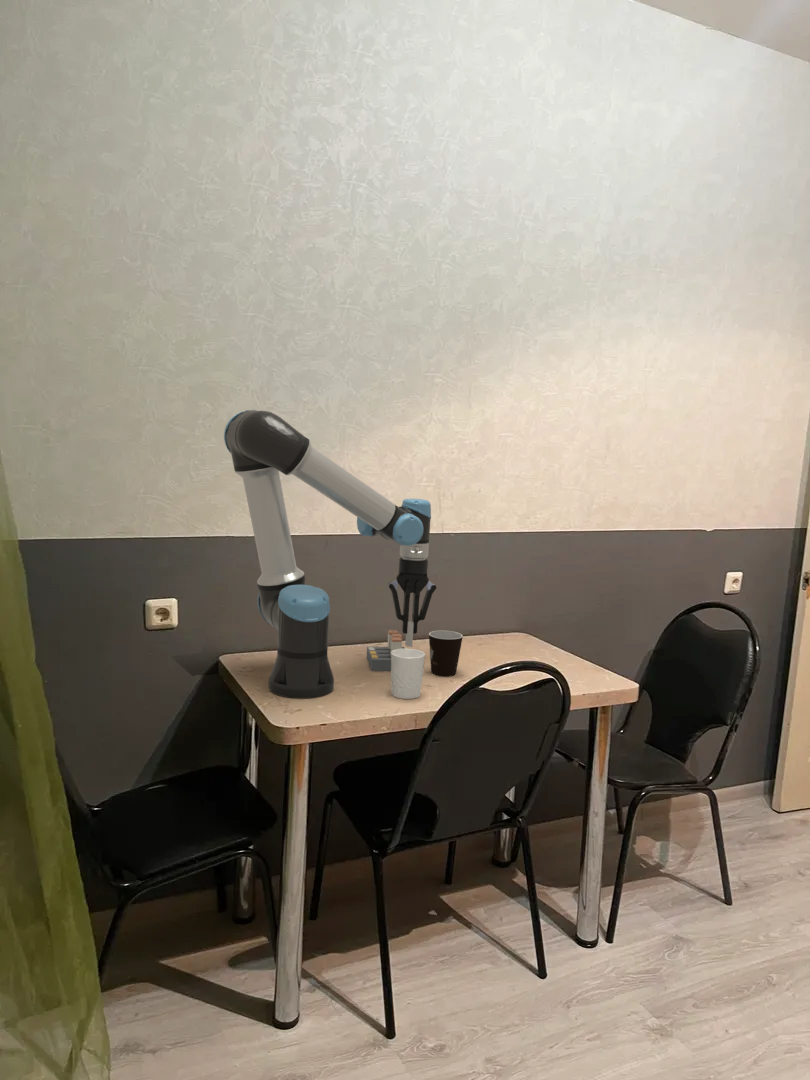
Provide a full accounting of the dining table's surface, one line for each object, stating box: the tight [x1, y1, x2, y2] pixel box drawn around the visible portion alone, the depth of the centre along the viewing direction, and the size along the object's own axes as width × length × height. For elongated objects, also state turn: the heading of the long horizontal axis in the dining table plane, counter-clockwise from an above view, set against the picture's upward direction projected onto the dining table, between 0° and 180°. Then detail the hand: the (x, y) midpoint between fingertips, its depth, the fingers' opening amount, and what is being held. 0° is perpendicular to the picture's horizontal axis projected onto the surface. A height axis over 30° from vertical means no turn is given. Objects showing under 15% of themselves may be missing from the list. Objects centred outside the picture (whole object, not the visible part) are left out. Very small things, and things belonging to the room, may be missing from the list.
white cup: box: [390, 647, 426, 700], centre depth 188 cm, size 8×8×10 cm
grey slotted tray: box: [366, 646, 405, 672], centre depth 211 cm, size 10×12×3 cm
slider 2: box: [392, 633, 403, 649], centre depth 211 cm, size 2×2×4 cm
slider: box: [386, 629, 400, 649], centre depth 215 cm, size 2×2×4 cm
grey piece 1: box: [390, 637, 403, 655], centre depth 208 cm, size 2×2×4 cm
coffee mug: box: [428, 629, 464, 678], centre depth 208 cm, size 12×9×10 cm
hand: (408, 645), depth 215 cm, fingers closed
